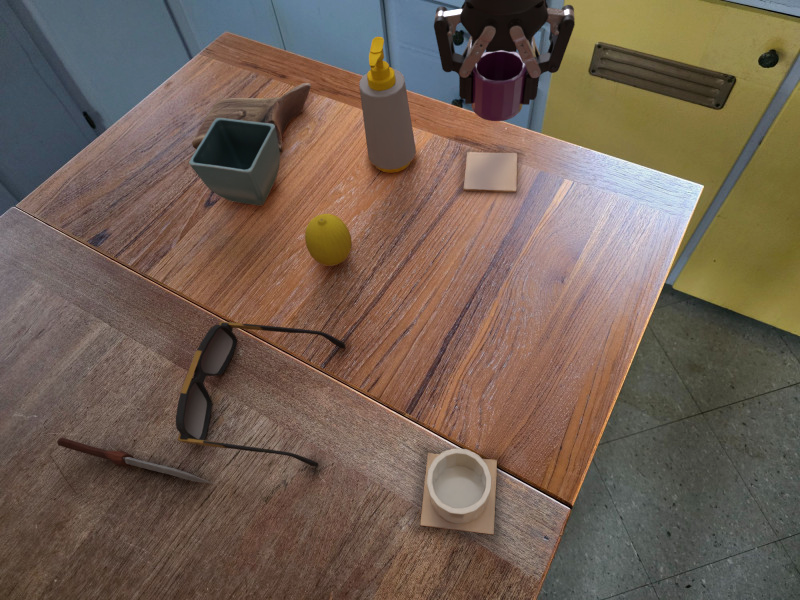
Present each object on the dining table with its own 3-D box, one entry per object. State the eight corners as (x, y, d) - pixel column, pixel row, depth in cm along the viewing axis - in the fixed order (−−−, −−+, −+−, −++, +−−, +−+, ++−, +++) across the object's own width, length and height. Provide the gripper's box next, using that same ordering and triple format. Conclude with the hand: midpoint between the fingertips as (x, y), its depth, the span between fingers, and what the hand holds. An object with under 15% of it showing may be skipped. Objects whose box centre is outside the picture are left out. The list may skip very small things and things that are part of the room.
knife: (222, 478, 57) (211, 471, 55) (216, 493, 57) (205, 487, 54) (73, 440, 61) (56, 431, 59) (66, 453, 60) (48, 445, 58)
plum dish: (522, 87, 65) (527, 48, 60) (522, 121, 62) (527, 83, 57) (473, 87, 65) (474, 49, 61) (470, 121, 62) (470, 83, 58)
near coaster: (496, 460, 56) (497, 460, 55) (493, 534, 52) (493, 534, 52) (427, 453, 57) (427, 452, 57) (420, 525, 53) (420, 525, 53)
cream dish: (490, 465, 55) (492, 451, 51) (487, 527, 52) (489, 517, 48) (432, 459, 56) (430, 445, 52) (426, 519, 53) (423, 509, 49)
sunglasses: (318, 467, 57) (307, 454, 53) (183, 448, 59) (162, 434, 55) (346, 347, 64) (338, 326, 60) (224, 334, 66) (208, 314, 62)
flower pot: (293, 172, 80) (275, 123, 72) (271, 219, 75) (250, 172, 68) (238, 165, 81) (215, 116, 74) (213, 210, 77) (186, 163, 70)
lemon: (305, 261, 71) (288, 221, 64) (336, 235, 73) (324, 194, 66) (333, 285, 69) (319, 246, 62) (365, 257, 70) (355, 217, 64)
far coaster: (517, 154, 77) (517, 153, 77) (516, 192, 74) (516, 190, 74) (467, 153, 78) (467, 151, 78) (463, 190, 75) (463, 188, 75)
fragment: (228, 104, 91) (216, 76, 87) (319, 104, 88) (311, 75, 84) (196, 157, 84) (182, 130, 80) (295, 159, 80) (284, 131, 76)
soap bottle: (365, 176, 78) (342, 64, 63) (373, 141, 81) (352, 27, 66) (413, 177, 77) (402, 64, 62) (419, 142, 80) (409, 26, 65)
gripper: (423, -33, 48) (431, 121, 62) (595, -37, 46) (563, 123, 60) (431, -77, 52) (437, 78, 66) (591, -83, 49) (561, 78, 64)
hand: (497, 99), depth 63 cm, fingers closed on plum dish, 6 cm apart
